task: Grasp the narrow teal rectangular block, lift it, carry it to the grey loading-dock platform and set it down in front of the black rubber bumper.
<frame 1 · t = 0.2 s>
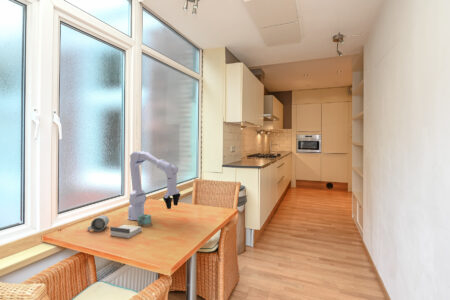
hand: (172, 207, 141), 10 cm above the table, fingers open, 7 cm apart
teal rectangular block: (144, 225, 139), on the table
dock: (126, 233, 127), on the table
ceramic mug: (98, 229, 134), on the table
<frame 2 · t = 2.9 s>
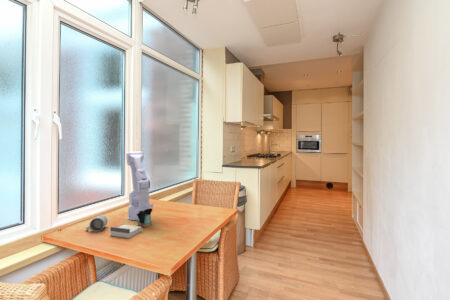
hand: (144, 222, 139), 2 cm above the table, fingers closed on teal rectangular block, 4 cm apart
teal rectangular block: (144, 225, 139), on the table, touching gripper
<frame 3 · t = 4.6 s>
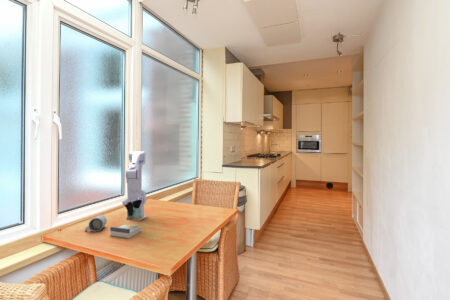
hand: (133, 214, 131), 9 cm above the table, fingers closed on teal rectangular block, 4 cm apart
teal rectangular block: (134, 219, 131), point 6 cm above the table, touching gripper
when the fingers open (5 cm above the table, at t = 6.4 s): teal rectangular block stays where it is, resting on dock.
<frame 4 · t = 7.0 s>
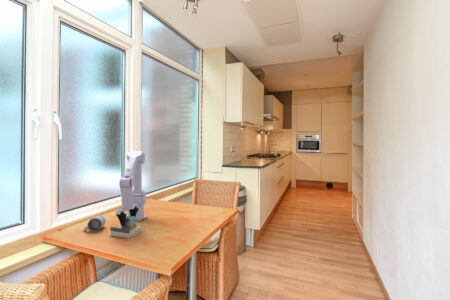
hand: (128, 223, 128), 5 cm above the table, fingers open, 7 cm apart
teal rectangular block: (128, 227, 128), point 2 cm above the table, touching dock
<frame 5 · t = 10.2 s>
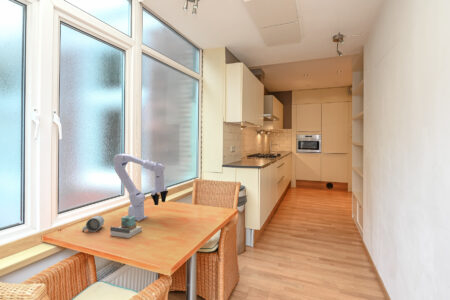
hand: (160, 203, 150), 10 cm above the table, fingers open, 7 cm apart
at the end: teal rectangular block inside the target area on the dock (1.6 cm from its centre), point 2.5 cm above the dock's base; teal rectangular block tilted 0°; the gripper is holding nothing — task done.
